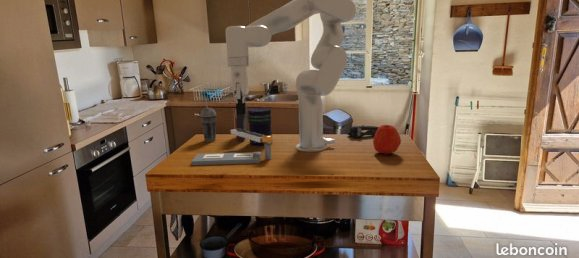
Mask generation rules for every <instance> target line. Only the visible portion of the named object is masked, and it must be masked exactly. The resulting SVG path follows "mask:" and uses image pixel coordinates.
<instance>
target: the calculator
mask: <svg viewBox="0 0 579 258" xmlns="http://www.w3.org/2000/svg"><path fill="white" fill-rule="evenodd" d="M245 106H246V114H243V115H237V113H236V108H235V129H238V128H240V129H243V130H247V131H248V129H247V115H248V105H247V104H245ZM235 136H236V142H245V140H246V139H247V138H244V137H240V136H237V135H235Z"/></svg>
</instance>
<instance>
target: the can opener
mask: <svg viewBox="0 0 579 258" xmlns="http://www.w3.org/2000/svg"><path fill="white" fill-rule="evenodd" d="M379 127H380V126H374V125H373V126H372V125H365V124H361V125H358V126H357V125H356V126H355V125H354V126H350V128H349V131H348V132H347V136H350V137H353V138H355V139H360V138H362V137H364V136H375V133H376V131H377V129H378V128H379ZM363 131H364V132H363Z"/></svg>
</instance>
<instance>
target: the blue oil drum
mask: <svg viewBox="0 0 579 258" xmlns="http://www.w3.org/2000/svg"><path fill="white" fill-rule="evenodd" d="M247 119H248V122H247V123H248V124H249V125H248V126H249V127H248V128H249V131H250V132H254V133H258V134H261V135H265V136H266V135H270V136H272V137H273V133H272V132H273V131H272V109H271V108H269V107H254V108H249V109H247ZM249 145H250V146H252V147H255V146H256V147H255V148H257V147H259V148H262V146H264V143H263V142H257V141H253V140H250V139H249ZM271 145H273V142H272V143H271Z"/></svg>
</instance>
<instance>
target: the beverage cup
mask: <svg viewBox="0 0 579 258" xmlns="http://www.w3.org/2000/svg"><path fill="white" fill-rule="evenodd" d="M205 103H206V107H204V108H202V110H201V111H200V115H199V118H200V122H201V128H202V132H203V133H202V134H203V138H204V142H206V143H212V142H215V141H216V137H217V136H216V133H217V129H216V128H217V117H218V116H217V112H216V111H215V109H214V108H212V107H208V106H209V105H208V98H207V97H205Z"/></svg>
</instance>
